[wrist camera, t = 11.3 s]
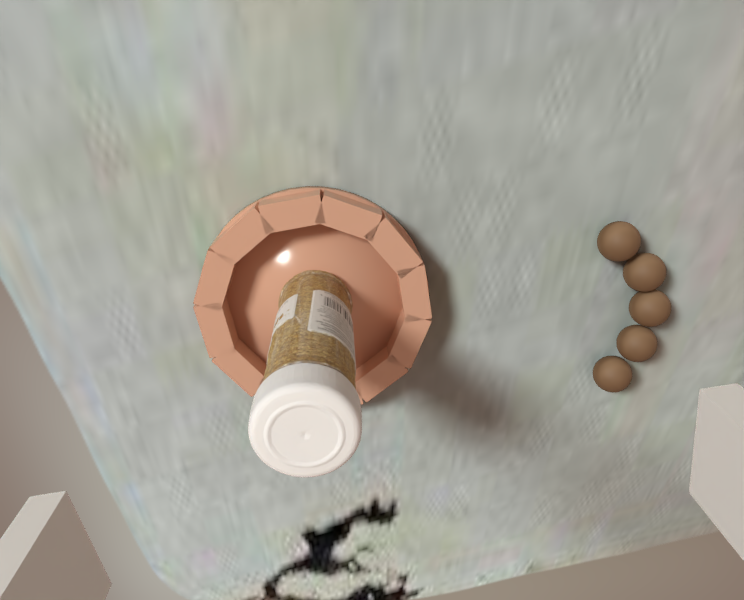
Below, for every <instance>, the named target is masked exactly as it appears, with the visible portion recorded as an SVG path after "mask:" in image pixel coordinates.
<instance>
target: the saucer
mask: <svg viewBox="0 0 744 600" xmlns="http://www.w3.org/2000/svg"><path fill="white" fill-rule="evenodd" d="M307 270H321V271H326V272H329V273H332V274H333V275H335V276H337V277H338V278H339V279H341V280H342V281H343V282H344V284H345V285H346V287H347V288H348V289H349V292H350V294H351V297H352V305H353V307H352V313H351V317H352V322H353V333H354V346H355V361H356V376H355V382H356V383H355V384H356V391H357V393H358V395H359V398H360V403H361V404H363V399H364V400H365V401H366V402H368V401H369V400H371V399H372V398H373V397H375V396H376V395H377V394H379V393H380V392H381V391H383V390H384V389H386V388H387V387H388V386H390V385H391V384H392V383H394V382H395V381H396V380H398V379H399V378H400V377H402V376H403V375H404V374H406V373H407V372H408V368H410V369H411V367H412V365H413V362H414V360H415V358H416V356H417V353H418V351H419V349H420V347H421V345H422V342H423V340H424V338H425V336H426V333H427V331H428V329H429V327H430V324H431V322H432V321H431V318H432V313H431V306H430V299H429V289H428V280H427V275H426V271H425V265H424V263H423V260H422V258H421V256H420V254H419V252H418V250H417V248H416V246H415V244H414V242H413V240H412V239H411V237H410V236H409V235H408V233H407V232H406V230H405V229H404V228H403V227H402V225H401V224H400V223H399V222H398V221H397V220H396V219H395V218H394V217H393V216H392V215H390V214H389V213H388V212H387V211H385V210H384V209H383V208H382V207H380V206H378V205H377V204H375V203H373V202H372V201H370V200H368V199H366V198H364V197H361V196H359V195H357V194H354V193H351V192H348V191H344V190H341V189H336V188H329V187H320V186H305V187H296V188H290V189H286V190H282V191H278V192H275V193H272V194H270V195H267V196H265V197H262V198H260V199H258V200H257V201H255V202H253V203H251V204H250V205H248V206H247V207H245V208H244V209H243V210H241V211H240V212H239V213H237V214H236V215H235V216H234V217H233V218H232V219H231V220H230V221H229V222H228V223H227V224H226V225H225V227H224V228H223V229H222V231H221V232H220V234H219V235H218V236H217V238H216V239H215V240H214V242H213V243H212V244H211V246H210V248H209V249H208V251H207V255H206V258H205V262H204V265H203V268H202V273H201V277H200V280H199V284H198V288H197V291H196V295H195V299H194V302H193V304H195V305H194V307H193V308H194V311H195V314H196V317H197V320H198V323H199V326H200V329H201V332H202V336H203V339H204V342H205V345H206V348H207V351H208V354H209V357H210V358H212V357H213V359H212V362H213V363H214V364H216V365H217V366H218V367H219V368H220V369H221V370H222V371H223V372H224V373H226V374H227V375H228V376H229V377H230V378H231V379H232V380H233V381H234V382H236V383H237V384H238V385H239V386H240V387H241V388H242V389H243V390H244V391H246V392H247V393H248V394H249V395H250V396H251V397H252V396H254V395H255V394H256V392H257V389H258V388H259V386H260V385H261V384H262V382H263V379H264V374H265V370H266V366H267V356H268V351H269V347H270V342H271V338H272V333H273V328H274V323H275V319H276V315H277V313H278V310H279V307H278V302H279V296H280V293H281V291H282V289H283V287H284V285H285V284H286V283H287V282H288V281H289V280H290V279H292V278H293V277H294V276H295V275H297V274H299V273H301V272H303V271H307Z"/></svg>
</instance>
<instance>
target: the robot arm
mask: <svg viewBox="0 0 744 600" xmlns="http://www.w3.org/2000/svg"><path fill="white" fill-rule="evenodd" d="M689 493H690V494H691V495H692V497H693V498H694V499H695V500H696V502H697V503H698V504H699V505H700V507H701V508H702V509H703V510H704V512H705V513H706V514H707V515H708V517H709V518H710V519H711V521H712V522H713V523H714V524H715V526H716V527H717V528H718V529H719V531H720V532H721V533H722V534H723V536H724V537H725V538H726V539H727V541H728V542H729V543H730V544H731V545H732V547H733V548H734V549H735V551H736V552H737V553H738V554H739V556H740V557H741V558H742V559H743V561H744V388H742V387H741V386H740V385H739V384H738V383H735V384H729V385H722V386H716V387H710V388H704V389H700V392H699V401H698V411H697V420H696V430H695V440H694V449H693V459H692V468H691V478H690V488H689ZM111 584H112V583H111V582H110V579H109V577H108V575H107V573H106V571H105V569H104V567H103V565H102V563H101V561H100V559H99V557H98V555H97V553H96V550H95V549H94V547H93V545H92V543H91V540H90V538H89V536H88V534H87V532H86V530H85V528H84V526H83V524H82V522H81V520H80V518H79V516H78V514H77V512H76V510H75V508H74V506H73V504H72V502H71V500H70V498H69V496H68V494H67V491H62V492H56V493H50V494H43V495H37V496H31V497H29V499H28V500H27V501H26V503H25V504H24V506H23V507H22V509H21V510H20V512H19V513H18V514H17V516H16V517H15V519H14V520H13V522H12V523H11V525H10V526H9V527H8V529H7V530H6V532H5V533H4V535H3V536H2V538H1V539H0V600H105V599H106V596H107V594H108V592H109V589H110V587H111Z"/></svg>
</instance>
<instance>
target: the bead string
mask: <svg viewBox="0 0 744 600" xmlns="http://www.w3.org/2000/svg"><path fill="white" fill-rule="evenodd" d="M640 244H641V237H640V234H639V232H638V230H637V229H636V228H635V227H634V226H633V225H632V224H630V223H627V222H623V221H617V222H612V223H610V224H608V225H606V226H605V227H604V228H603V229H602V230H601V231H600V233H599V235H598V239H597V246H598V249H599V251H600V253H601V254H602V255H603V256H604V257H605V258H607V259H609V260H611V261H616V262H620V261H625V260H628V259H629V260H628V261H627V262H626V264H625V266H624V269H623V277H624V280H625V282H626V283H627V285H628V286H630V287H631V288H632V289H634V290H636V291H639V292H638V293H636V294H635V295H634V296H633V297H632V299H631V301H630V303H629V312H630V315H631V317H632V318H633V319H634V321H636V322H637V323H638V324H640V325H631V326H628V327H626V328H624V329H623V330H622V331H621V332H620V333H619V335H618V337H617V348H618V351H619V352H620V354H621V355H622V356H623V357H624V358H626V359H628V360H630V361H633V362H642V361H645V360H648V359H649V358H651V357H652V356H653V355H654V353H655V352H656V349H657V339H656V336H655V334H654V333H653V332H652V331H651V330H650V329H649V328H647V327H654V326H658V325H660V324H662V323H664V322H665V321H666V320H667V319H668V317H669V316H670V313H671V303H670V300H669V298H668V297H667V296H666V295H665V294H664V293H663V292H661V291H659V290H656V288H658V287H659V286H660V285H661V284H662V283H663V282H664V280H665V277H666V266H665V264H664V262H663V261H662V260H661V259H660V258H659V257H658V256H656V255H654V254H651V253H639V254H636V253H637V251H638V250H639V248H640ZM635 254H636V255H635ZM642 325H643V326H642ZM645 326H647V327H645ZM593 378H594V380H595V382H596V384H597V385H598V386H599V387H600V388H601V389H603V390H605V391H608V392H619V391H622V390H624V389H625V388H627V387H628V385H629V384H630V382H631V380H632V370H631V367H630V366H629V364H628V363H627V362H626V361H625V360H624V359H622V358H620V357H617V356H606V357H603V358H601V359H600V360H599V361H598V362H597V363H596V364H595V366H594V368H593Z"/></svg>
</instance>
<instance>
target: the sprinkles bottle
mask: <svg viewBox="0 0 744 600" xmlns="http://www.w3.org/2000/svg"><path fill="white" fill-rule="evenodd" d="M278 307H279V310H278V313H277V315H276V319H275V323H274V328H273V333H272V338H271V342H270V347H269V351H268V356H267V366H266V370H265V374H264V379H263V382H262V384H261V385H260V386H259V388H258V389H257V392H256V394H255V397H254V400H253V404H252V408H251V412H250V418H249V425H248V433H249V439H250V442H251V445H252V447H253V449H254V451H255V452H256V454H257V455H258V456H259V458H260V459H261V460H262V461H263V462H264V463H265V464H267V465H268V466H269V467H271V468H272V469H274V470H276V471H278V472H280V473H283V474H287V475H290V476H296V477H315V476H320V475H324V474H327V473H329V472H332V471H334V470H336V469H337V468H339V467H341V466H342V465H343V464H345V463H346V462H347V461H348V460H349V459H350V458H351V457H352V455H353V454H354V453H355V451H356V449H357V447H358V445H359V442H360V439H361V433H362V414H361V403H360V398H359V395H358V393H357V391H356V384H355V383H356V382H355V376H356V361H355V346H354V333H353V322H352V317H351V313H352V307H353V305H352V297H351V294H350V292H349V289H348V288H347V287H346V285H345V284H344V282H343V281H342V280H341V279H339V278H338V277H337V276H335V275H333V274H332V273H329V272H326V271H321V270H307V271H303V272H301V273H299V274H297V275H295V276H294V277H293V278H292V279H290V280H289V281H288V282H287V283H286V284H285V285H284V287H283V289H282V291H281V293H280V296H279V302H278Z"/></svg>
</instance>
